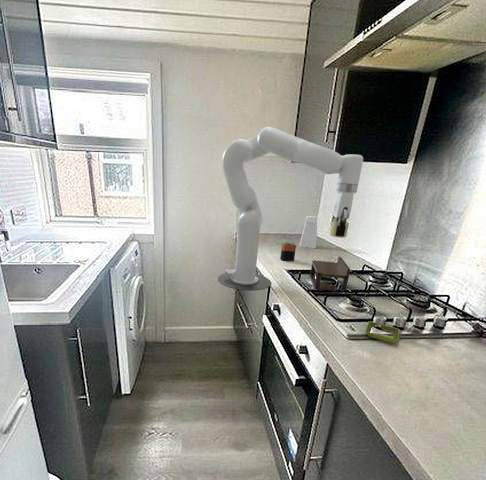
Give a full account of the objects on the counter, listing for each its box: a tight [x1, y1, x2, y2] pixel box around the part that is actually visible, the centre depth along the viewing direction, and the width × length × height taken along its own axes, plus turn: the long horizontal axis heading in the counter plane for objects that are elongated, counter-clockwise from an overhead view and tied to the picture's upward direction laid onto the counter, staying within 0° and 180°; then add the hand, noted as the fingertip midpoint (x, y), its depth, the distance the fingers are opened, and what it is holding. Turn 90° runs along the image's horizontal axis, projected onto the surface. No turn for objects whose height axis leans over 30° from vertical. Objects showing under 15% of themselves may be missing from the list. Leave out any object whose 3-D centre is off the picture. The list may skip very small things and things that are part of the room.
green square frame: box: [365, 320, 401, 344], centre depth 91 cm, size 9×9×2 cm
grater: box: [299, 215, 319, 249], centre depth 204 cm, size 10×10×20 cm
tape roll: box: [329, 220, 350, 239], centre depth 122 cm, size 6×6×6 cm
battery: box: [279, 241, 297, 262], centre depth 168 cm, size 4×7×10 cm, turn 96°
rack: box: [309, 256, 351, 292], centre depth 132 cm, size 12×20×11 cm, turn 168°
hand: (338, 233), depth 123 cm, fingers closed on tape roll, 6 cm apart
